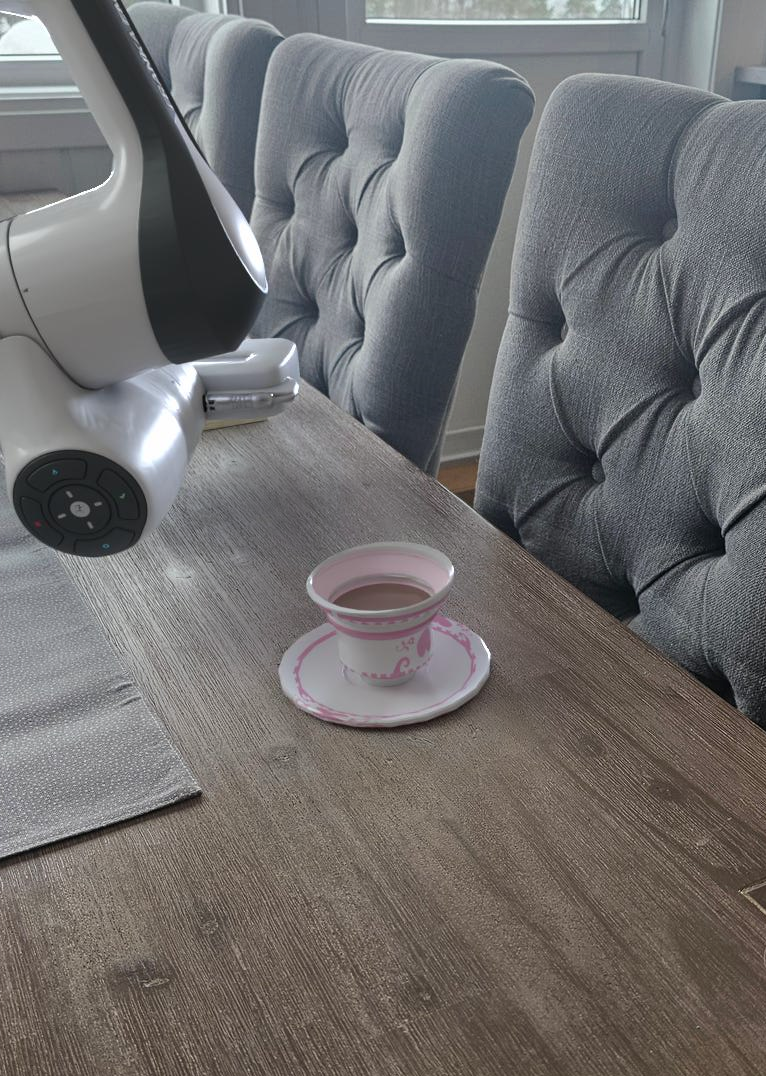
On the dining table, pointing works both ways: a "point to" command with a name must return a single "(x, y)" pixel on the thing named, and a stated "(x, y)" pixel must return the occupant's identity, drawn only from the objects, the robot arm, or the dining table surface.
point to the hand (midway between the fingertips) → (170, 346)
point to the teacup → (383, 641)
